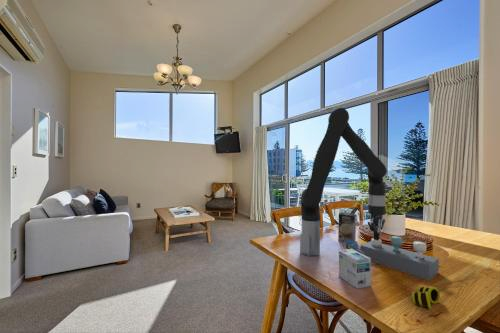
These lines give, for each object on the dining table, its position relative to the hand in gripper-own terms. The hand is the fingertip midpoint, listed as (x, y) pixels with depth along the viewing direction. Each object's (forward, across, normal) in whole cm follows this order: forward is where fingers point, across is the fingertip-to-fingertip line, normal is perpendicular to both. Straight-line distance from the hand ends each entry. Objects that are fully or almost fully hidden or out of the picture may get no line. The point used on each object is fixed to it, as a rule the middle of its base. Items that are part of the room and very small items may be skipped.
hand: (376, 239), depth 114 cm
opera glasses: (+9, +24, +28) cm, 38 cm away
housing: (+9, 0, +9) cm, 13 cm away
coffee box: (+9, -12, -23) cm, 28 cm away
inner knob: (+7, 0, 0) cm, 8 cm away
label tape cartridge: (+9, +19, 0) cm, 21 cm away
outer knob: (+4, 0, +18) cm, 19 cm away
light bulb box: (+9, +30, +6) cm, 32 cm away
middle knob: (+4, 0, +9) cm, 10 cm away
